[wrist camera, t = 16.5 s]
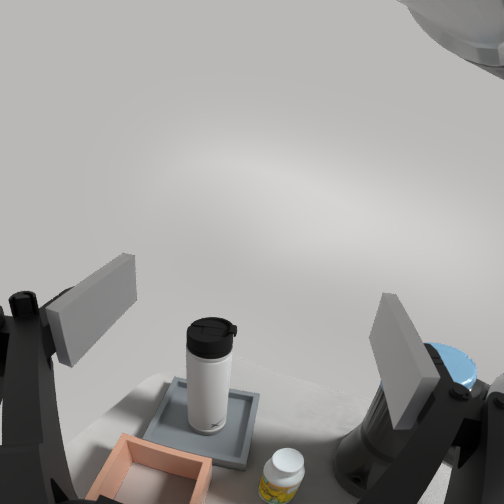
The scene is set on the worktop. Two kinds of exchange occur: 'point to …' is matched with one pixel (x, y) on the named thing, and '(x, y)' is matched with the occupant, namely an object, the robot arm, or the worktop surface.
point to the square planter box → (153, 457)
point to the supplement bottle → (281, 476)
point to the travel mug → (208, 373)
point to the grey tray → (213, 446)
